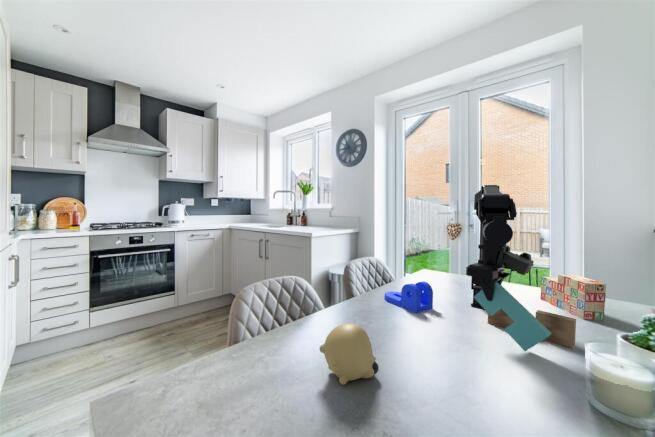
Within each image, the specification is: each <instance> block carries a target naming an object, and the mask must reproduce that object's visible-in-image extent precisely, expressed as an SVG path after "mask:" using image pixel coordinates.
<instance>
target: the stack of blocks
mask: <svg viewBox="0 0 655 437" xmlns="http://www.w3.org/2000/svg"><path fill="white" fill-rule="evenodd" d="M606 289H607V283H604V282H601V281H598V280H595V279H593V278H592V279H591V278H587V277H584V276H581V275H577V274H563V273H560V274H557V276H541V277H540V300H542V301H544V302H546V303H548V304H551V305H552V306H554V307H556V308H559V309H561V310H563V311H565V312H567V313H569V314H571V315H573V316H575V317H577V318H579V319H581V320H584V321H600V322H601V321H603V322H604V321H605V307H606V306H605V305H606V297H607V296H606Z"/></svg>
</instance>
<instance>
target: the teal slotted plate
mask: <svg viewBox="0 0 655 437" xmlns="http://www.w3.org/2000/svg"><path fill="white" fill-rule="evenodd" d="M474 298H475V299H476V300H477V302H478V303H479V304H480V305H481V306H482V307H483V308H484V309H483V310H485V311H486V312H487V314H488V313H489V314H490V315H491V316H492V315H494V314H495V313H497V312H498V311H499V310H500V309H502V310H503V311H504V312H505V313H506V314H507V315H508V316H509V317H510V318H511V319H512V320H513V321H514V323H512V324H511V325H510V326H508V327H507V328H503V330H504V331H505V332H506V333H507V334H508V335H509V336H510V337H511V338H512V340H513V341H514V342H516V343H515V344H517V345H518V346H519V347H520V348H521V349H522V351H524V352H526V351H528V350H530V349H531V348H533V347H535V346H536V345H537V344H539V343H541V342H542V341H545V340H544V339H545V338H547V337H549V336H550V335H551V332H550V331H549V330H548V329H547V328H546V327H545V326H544V325H543V324H541V323H540V322H539V321H538V320H537V319H536V316H534V315H533V314H532V313H531V312H530V311H529V310H528V309H527V308H526V307H524V305H522V303H520V301H518V299H516V298H515V297H514V296H513V295H512V294H511V292H509V291H508V290H507V289H506V288H505V287H504V286H503V285H502V284H501V285H500V284H499V283H498V282H496V285H495V290H494V295H493V299H492V301H488V300H487V299H486V296H485V294H484V292H483V290H481V291H480V292H479V293H478V294H476V295H475V296H474Z"/></svg>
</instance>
